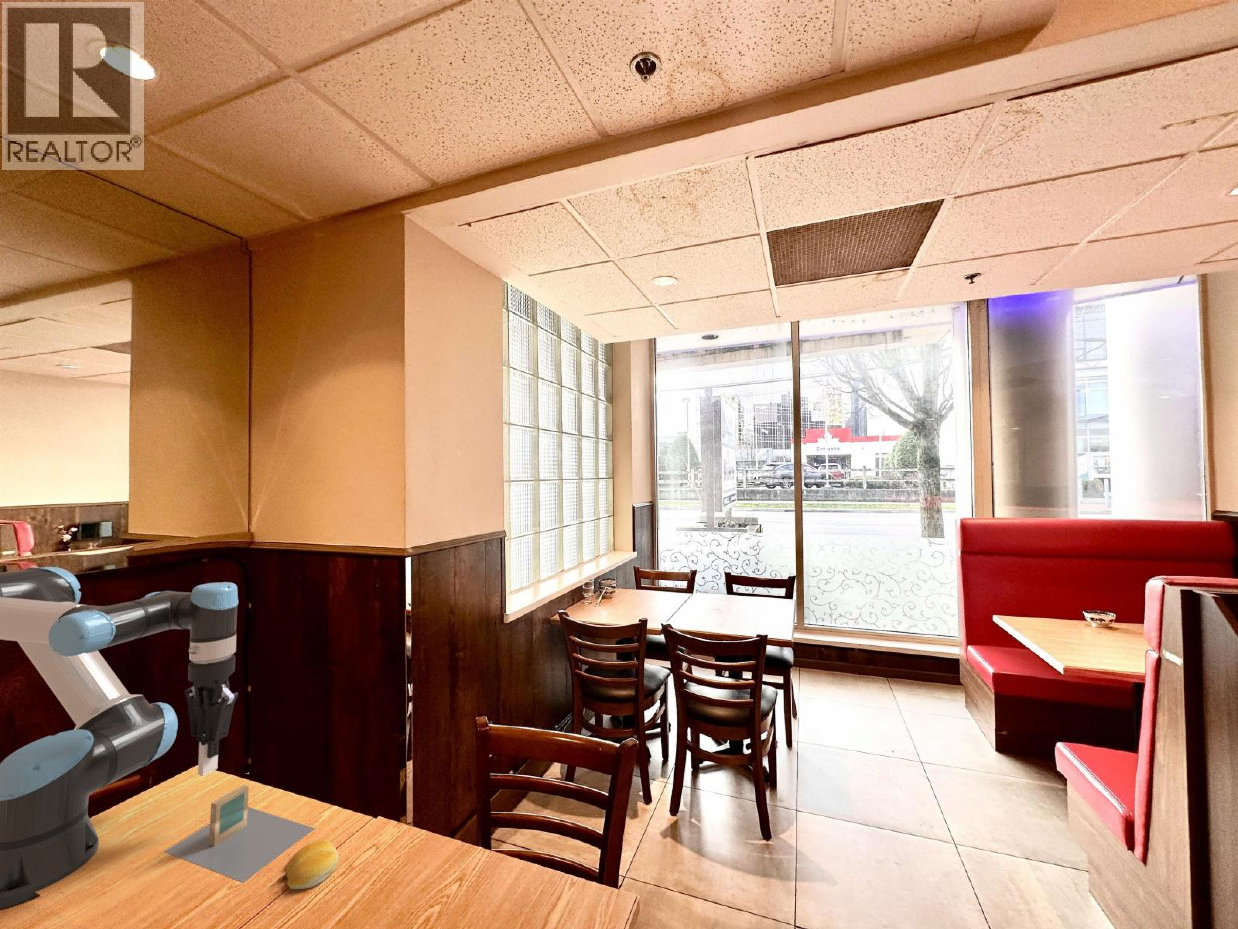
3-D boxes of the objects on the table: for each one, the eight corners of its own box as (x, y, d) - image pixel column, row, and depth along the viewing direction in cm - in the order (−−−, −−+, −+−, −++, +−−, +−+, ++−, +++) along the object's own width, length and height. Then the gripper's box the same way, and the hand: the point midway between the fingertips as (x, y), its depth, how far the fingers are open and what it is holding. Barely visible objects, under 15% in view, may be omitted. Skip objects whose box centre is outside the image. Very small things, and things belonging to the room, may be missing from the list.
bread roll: (289, 901, 82) (290, 877, 82) (284, 868, 89) (284, 847, 89) (343, 875, 87) (343, 853, 88) (334, 847, 94) (334, 826, 94)
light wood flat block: (208, 844, 93) (211, 803, 93) (241, 823, 98) (243, 784, 99) (214, 846, 92) (216, 804, 92) (246, 825, 98) (248, 786, 98)
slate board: (163, 857, 91) (163, 851, 91) (241, 810, 104) (241, 804, 104) (242, 889, 84) (243, 882, 84) (314, 834, 97) (315, 828, 97)
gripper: (171, 660, 97) (165, 776, 96) (213, 668, 93) (208, 789, 92) (211, 648, 105) (207, 756, 104) (252, 655, 101) (248, 767, 100)
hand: (207, 771), depth 98 cm, fingers closed
